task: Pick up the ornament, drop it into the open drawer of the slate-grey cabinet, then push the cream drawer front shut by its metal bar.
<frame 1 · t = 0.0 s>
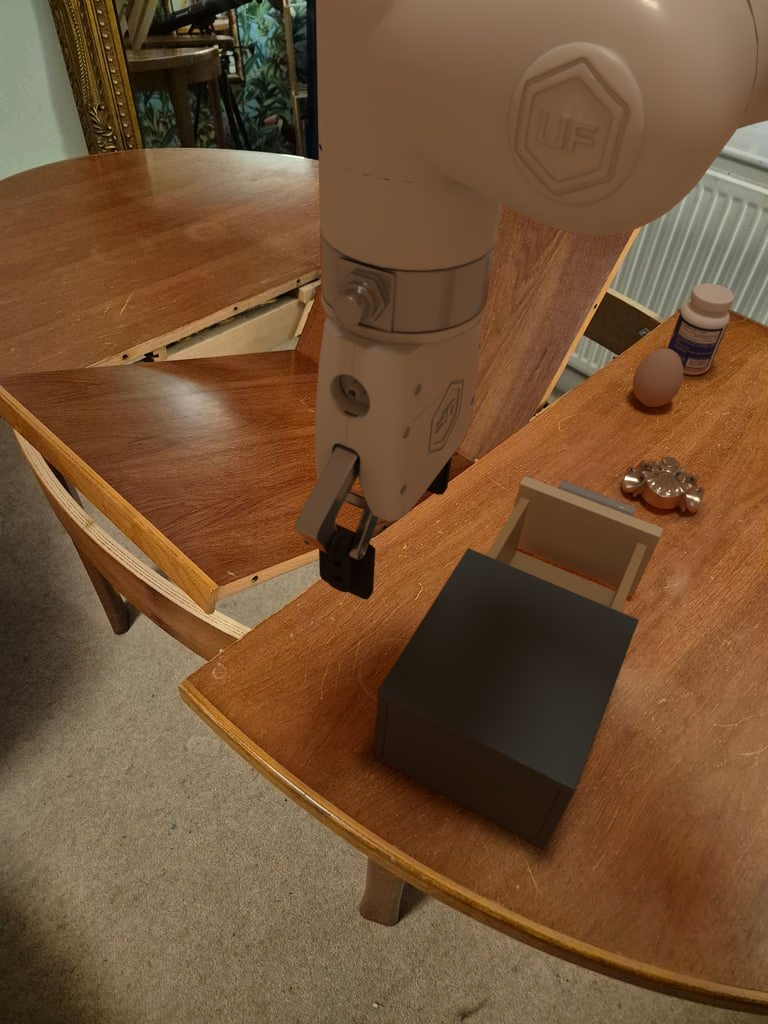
hand: (387, 532, 45), 20 cm above the table, tool pointing down, fingers open, 9 cm apart
egg: (648, 404, 88), on the table
pill bottle: (685, 364, 95), on the table
drawer: (564, 566, 63), point 5 cm above the table, slide at 10.0 cm
ornament: (659, 495, 77), on the table
cabinet: (493, 722, 58), on the table
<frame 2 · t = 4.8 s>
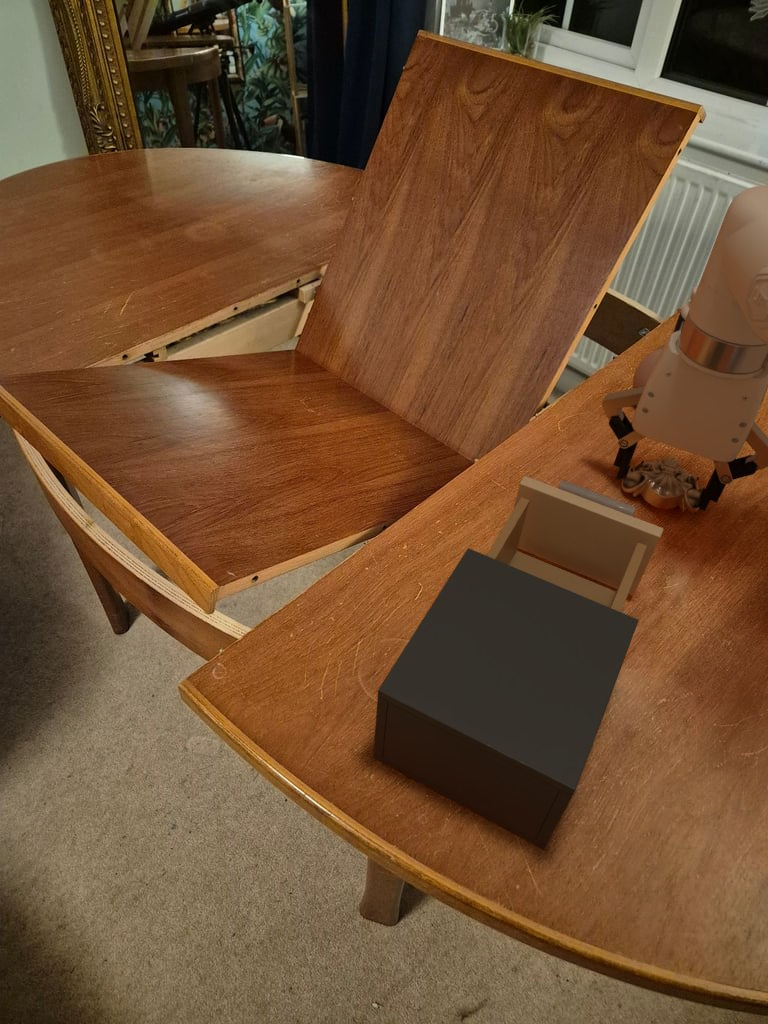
hand: (662, 486, 77), 1 cm above the table, tool pointing down, fingers closed on ornament, 8 cm apart
ornament: (659, 495, 77), on the table, touching gripper
everything else where it was.
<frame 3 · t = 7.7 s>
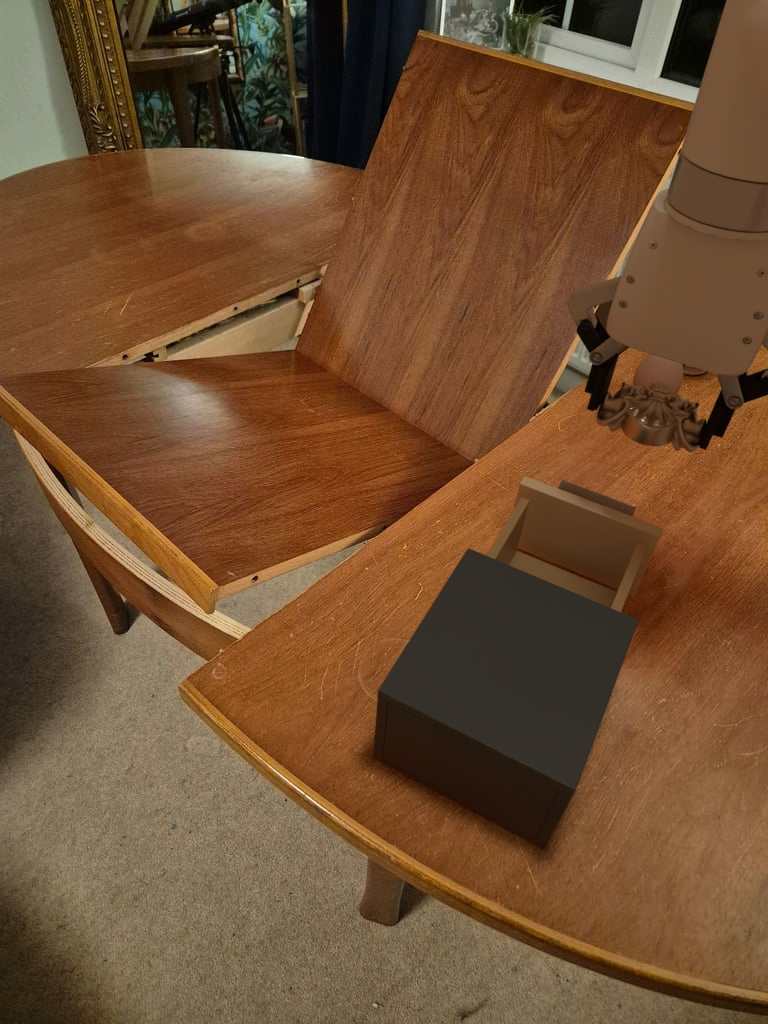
hand: (650, 419, 57), 18 cm above the table, tool pointing down, fingers closed on ornament, 8 cm apart
ornament: (646, 431, 58), point 16 cm above the table, touching gripper
everything else where it was.
when the fingers open (9 cm above the table, at t = 11.1 s): ornament drops 6 cm, resting on drawer.
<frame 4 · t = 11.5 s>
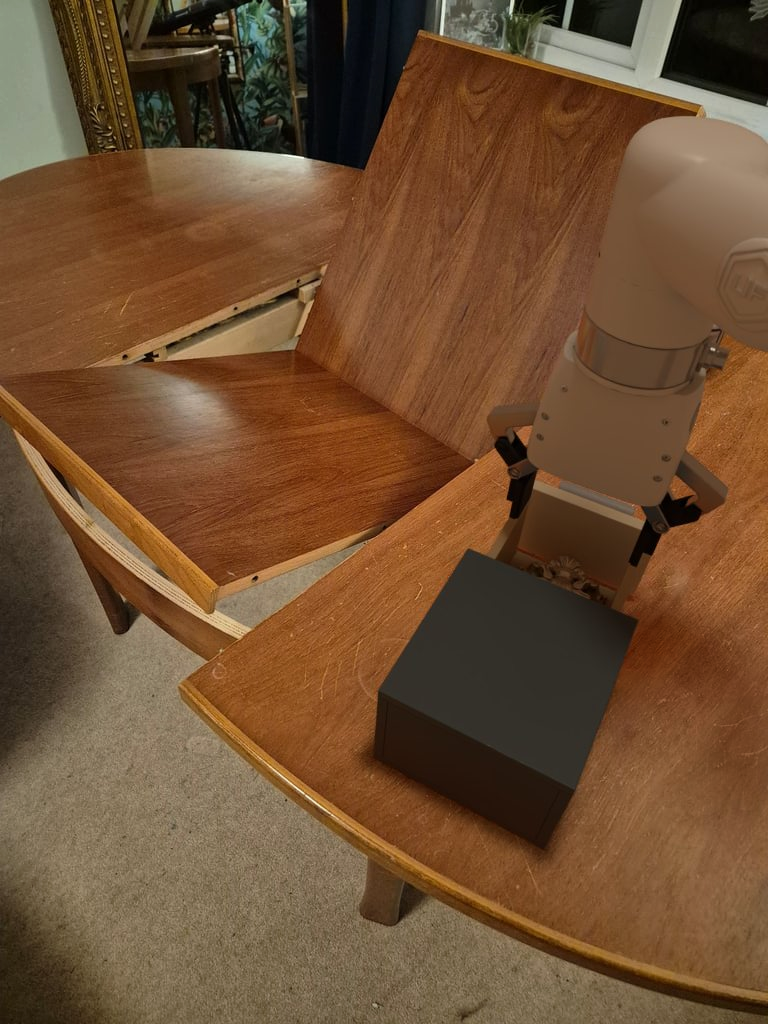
hand: (576, 530, 58), 11 cm above the table, tool pointing down, fingers open, 9 cm apart
drawer: (564, 566, 63), point 5 cm above the table, slide at 10.0 cm, touching ornament
ornament: (555, 601, 64), point 2 cm above the table, touching drawer
everything else where it was.
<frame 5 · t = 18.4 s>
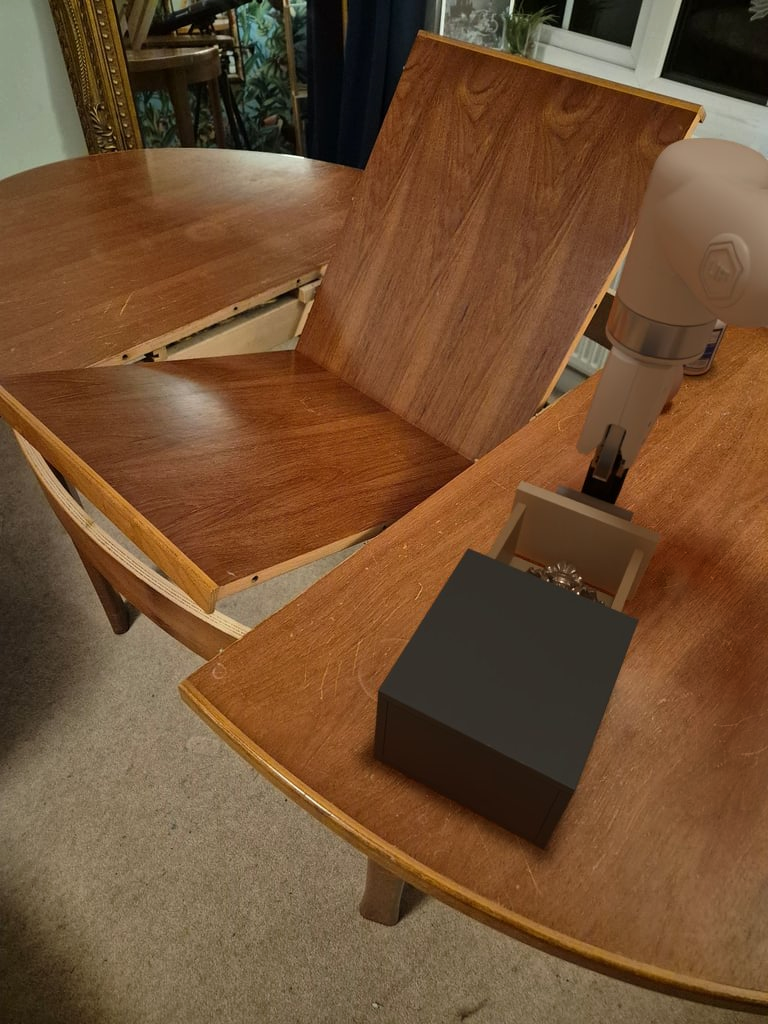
hand: (599, 495, 69), 5 cm above the table, tool pointing down, fingers closed
drawer: (561, 571, 63), point 5 cm above the table, slide at 9.3 cm, touching ornament, gripper
everything else where it was.
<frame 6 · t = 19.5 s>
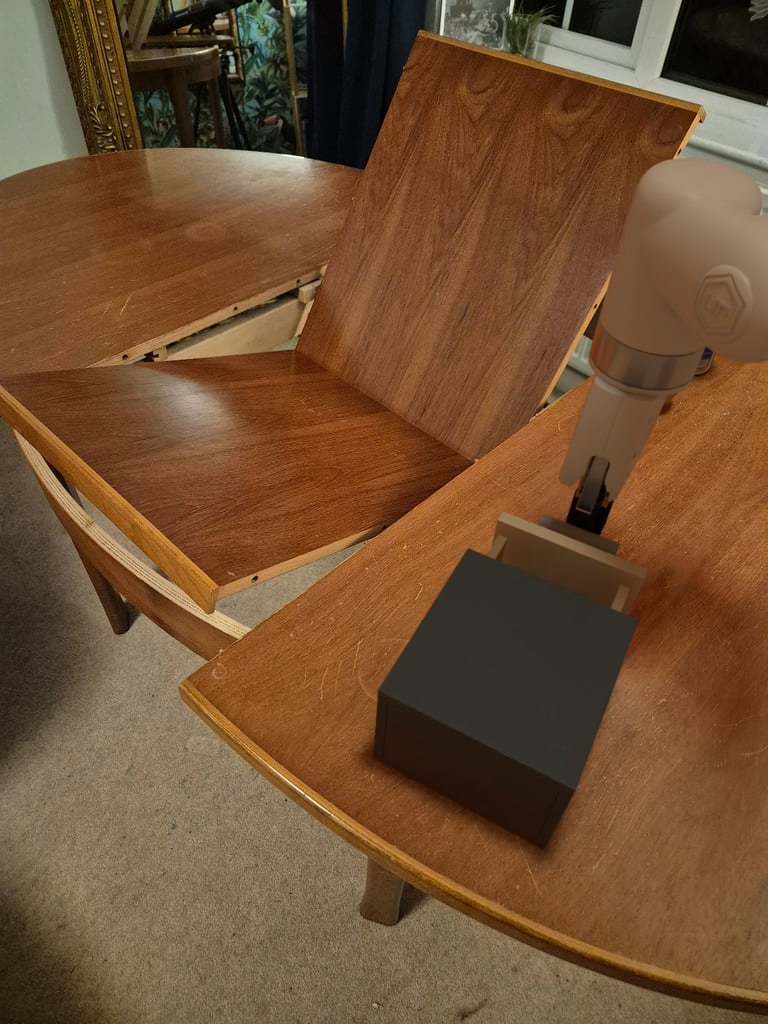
hand: (584, 524, 66), 5 cm above the table, tool pointing down, fingers closed
drawer: (544, 607, 60), point 5 cm above the table, slide at 4.9 cm, touching ornament, gripper
ornament: (535, 643, 61), point 2 cm above the table, touching drawer
everything else where it was.
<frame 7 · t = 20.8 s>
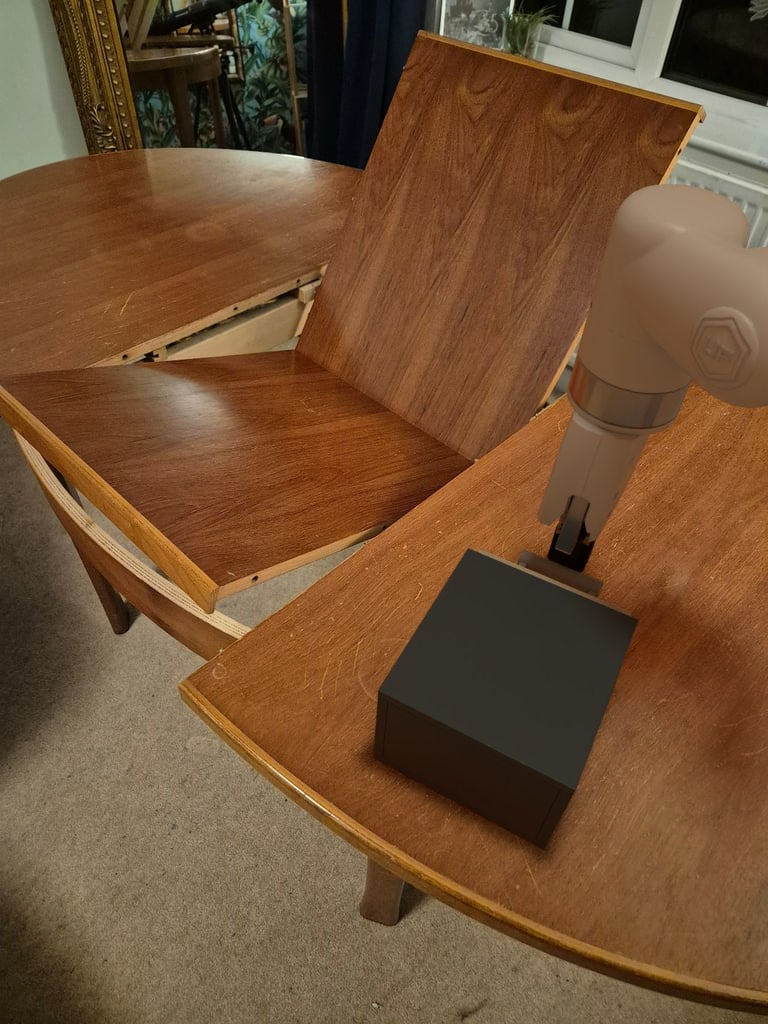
hand: (567, 560, 63), 5 cm above the table, tool pointing down, fingers closed
drawer: (522, 651, 57), point 5 cm above the table, slide at 0.0 cm, touching cabinet, ornament, gripper
ornament: (513, 689, 58), point 2 cm above the table, touching drawer
everything else where it was.
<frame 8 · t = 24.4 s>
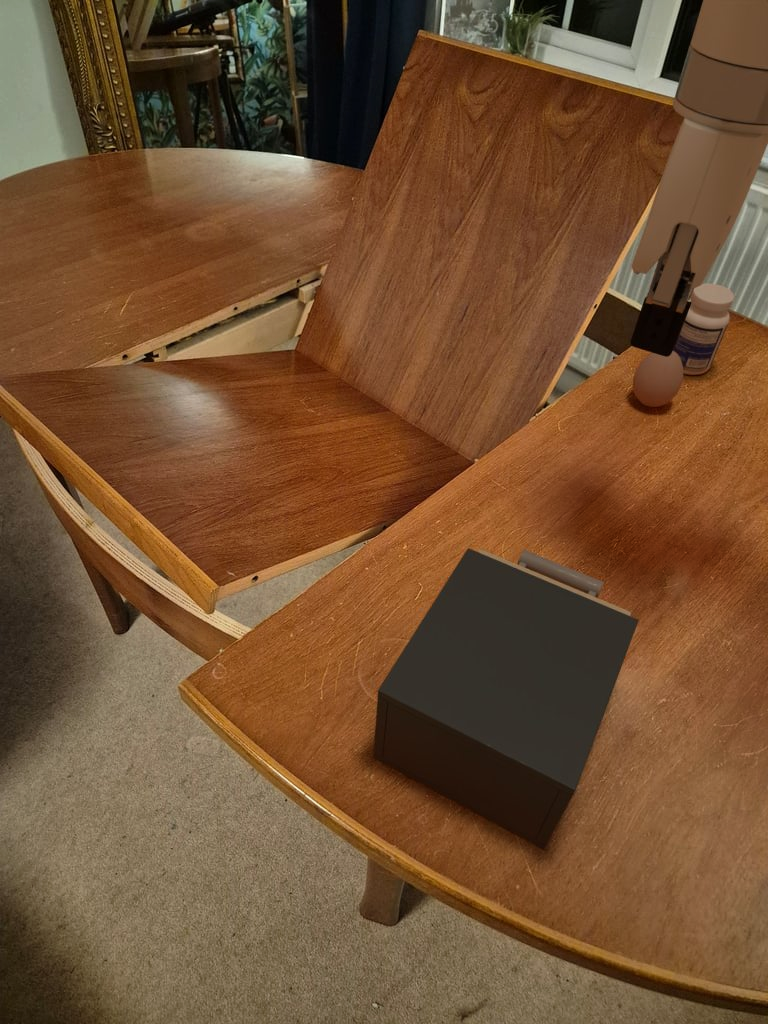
hand: (652, 346, 58), 21 cm above the table, tool pointing down, fingers closed
drawer: (522, 651, 57), point 5 cm above the table, slide at 0.0 cm, touching ornament
everything else where it was.
at the end: ornament inside the target area in the cabinet (2.4 cm from its centre), point 1.8 cm above the cabinet's base; drawer slide at 0.0 cm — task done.
